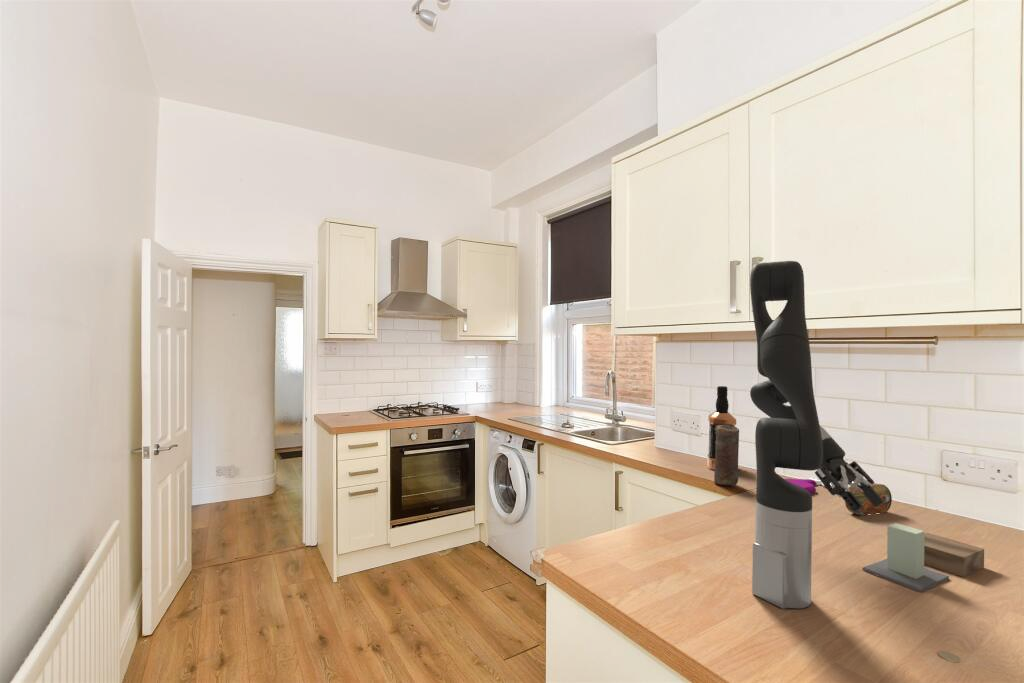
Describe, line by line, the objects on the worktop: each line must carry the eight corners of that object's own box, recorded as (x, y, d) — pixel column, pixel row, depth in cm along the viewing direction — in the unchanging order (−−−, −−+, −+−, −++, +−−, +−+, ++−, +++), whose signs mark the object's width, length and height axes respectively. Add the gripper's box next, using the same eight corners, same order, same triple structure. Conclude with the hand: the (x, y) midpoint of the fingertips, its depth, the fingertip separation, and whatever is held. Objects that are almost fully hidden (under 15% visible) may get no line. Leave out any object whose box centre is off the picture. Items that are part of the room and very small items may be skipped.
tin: (852, 517, 134) (852, 487, 134) (842, 513, 137) (842, 484, 137) (892, 513, 138) (893, 484, 138) (881, 509, 141) (882, 481, 141)
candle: (737, 483, 166) (738, 425, 167) (739, 488, 160) (740, 428, 160) (713, 480, 169) (714, 424, 169) (714, 486, 162) (715, 427, 162)
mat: (920, 592, 92) (920, 589, 92) (862, 570, 101) (862, 567, 101) (948, 579, 98) (948, 576, 98) (891, 559, 107) (891, 556, 107)
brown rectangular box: (963, 577, 99) (963, 557, 99) (905, 557, 108) (906, 540, 108) (984, 567, 104) (984, 548, 104) (927, 549, 113) (927, 532, 113)
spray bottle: (766, 490, 160) (804, 481, 173) (800, 499, 151) (838, 489, 164) (766, 481, 160) (804, 473, 173) (800, 490, 151) (838, 480, 164)
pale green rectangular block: (916, 578, 97) (916, 534, 97) (887, 568, 101) (887, 525, 101) (924, 575, 98) (924, 531, 98) (895, 565, 103) (895, 523, 103)
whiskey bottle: (706, 463, 195) (708, 384, 195) (733, 465, 192) (734, 385, 192) (708, 469, 185) (709, 386, 185) (736, 472, 182) (737, 387, 182)
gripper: (810, 438, 110) (866, 503, 100) (845, 434, 117) (900, 494, 107) (788, 456, 115) (838, 520, 105) (822, 451, 122) (873, 511, 111)
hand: (869, 507), depth 106 cm, fingers open, 8 cm apart
